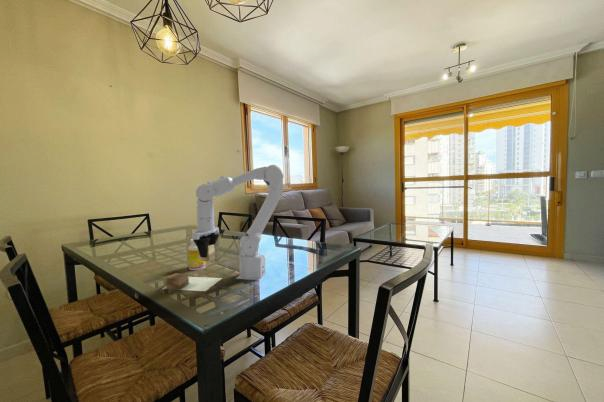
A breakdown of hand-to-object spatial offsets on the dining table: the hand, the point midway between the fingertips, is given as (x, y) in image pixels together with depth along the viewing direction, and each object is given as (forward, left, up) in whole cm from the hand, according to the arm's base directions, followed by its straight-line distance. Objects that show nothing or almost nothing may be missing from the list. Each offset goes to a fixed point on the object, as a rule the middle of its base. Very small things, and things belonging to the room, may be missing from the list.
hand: (207, 255), depth 91 cm
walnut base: (+8, +6, -9) cm, 13 cm away
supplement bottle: (+13, -14, -10) cm, 22 cm away
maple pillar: (0, 0, -2) cm, 2 cm away
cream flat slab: (+4, +3, -10) cm, 11 cm away
